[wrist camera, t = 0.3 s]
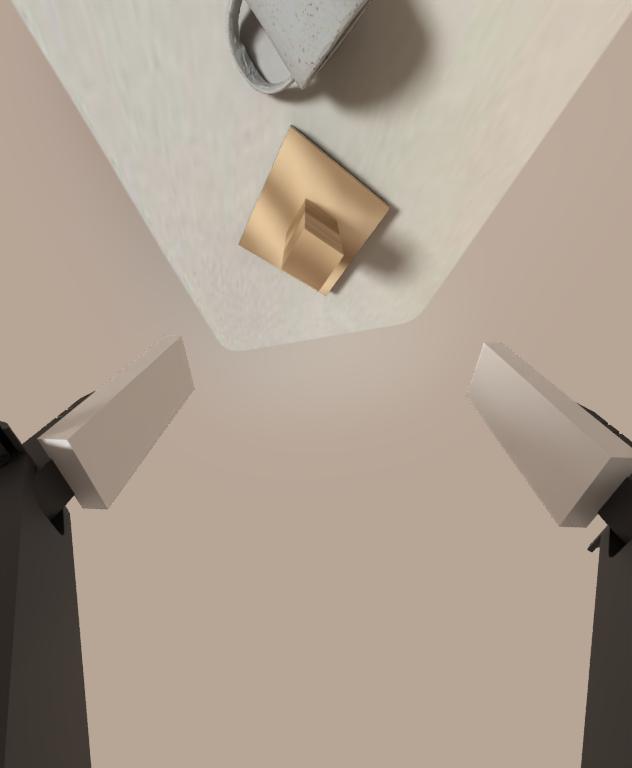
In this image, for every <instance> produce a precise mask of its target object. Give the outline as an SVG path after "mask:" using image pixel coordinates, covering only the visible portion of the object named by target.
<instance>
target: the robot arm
mask: <svg viewBox="0 0 632 768" xmlns="http://www.w3.org/2000/svg"><path fill="white" fill-rule="evenodd" d="M194 389H195V388H194V384H193V380H192V377H191V372H190V368H189V364H188V361H187V356H186V352H185V348H184V344H183V340H182V337H181V336H163V337H162V338H161V339H159V340H158V341H157V342H156V343H154V344H153V345H152V346H151V347H150V348H148V349H147V350H146V351H145V352H143V353H142V354H141V355H140V356H138V357H137V358H136V359H135V360H134V361H132V362H131V363H130V364H129V365H127V366H126V367H125V368H124V369H123V370H121V371H120V372H119V373H118V374H116V375H115V376H114V377H113V378H111V379H110V380H109V381H108V382H106V383H105V384H104V385H103V386H102V387H100V388H99V389H98V390H97V391H94V392H92V393H90V394H88V395H86V396H84V397H82V398H80V399H79V400H78V401H76V402H75V403H74V404H73V405H71V406H70V407H69V408H68V410H65V411H64V412H62V413H61V414H60V415H59V416H58V418H55V419H54V420H52V421H51V422H50V423H48V424H47V425H46V426H45V427H43V428H42V429H41V430H40V431H38V432H37V433H36V434H35V435H33V436H32V437H31V438H29V439H28V440H27V441H26V442H24V443H23V444H21V442H20V441H19V439H18V438H17V437H16V435H15V434H14V433H13V431H12V430H11V428H10V427H9V425H8V424H7V423H5V422H1V421H0V768H91V760H90V748H89V736H88V724H87V713H86V700H85V689H84V676H83V664H82V653H81V640H80V628H79V616H78V604H77V593H76V580H75V569H74V558H73V546H72V533H71V521H70V513H69V511H68V509H67V508H66V506H65V505H66V504H67V503H68V502H69V501H70V499H71V498H72V497H73V496H75V497H76V499H77V500H78V502H79V503H80V505H81V506H82V508H89V509H108V508H109V507H110V506H111V504H112V503H113V501H114V500H115V499H116V497H117V496H118V495H119V493H120V492H121V490H122V489H123V488H124V486H125V485H126V483H127V482H128V480H129V479H130V478H131V476H132V475H133V474H134V472H135V471H136V469H137V468H138V466H139V465H140V464H141V463H142V461H143V460H144V458H145V457H146V456H147V454H148V453H149V451H150V450H151V449H152V447H153V446H154V444H155V443H156V442H157V440H158V439H159V437H160V436H161V435H162V433H163V432H164V430H165V429H166V427H167V426H168V425H169V424H170V422H171V420H172V419H173V418H174V416H175V415H176V414H177V412H178V411H179V409H180V408H181V407H182V405H183V404H184V403H185V401H186V400H187V398H188V397H189V396H190V394H191V393H192V391H193V390H194ZM467 398H468V399H469V401H470V402H471V403H472V405H473V406H474V408H475V409H476V410H477V412H478V413H479V414H480V416H481V417H482V419H483V420H484V422H485V423H486V424H487V426H488V427H489V429H490V430H491V431H492V433H493V434H494V436H495V437H496V439H497V440H498V441H499V443H500V444H501V446H502V447H503V448H504V450H505V451H506V453H507V454H508V455H509V457H510V458H511V460H512V461H513V462H514V464H515V465H516V467H517V468H518V469H519V471H520V472H521V474H522V475H523V477H524V478H525V479H526V481H527V482H528V484H529V485H530V486H531V488H532V489H533V491H534V492H535V493H536V495H537V496H538V498H539V499H540V501H541V502H542V503H543V505H544V506H545V507H546V509H547V510H548V512H549V513H550V515H551V516H552V517H553V519H554V520H555V522H556V523H557V524H558V526H559V527H585V528H586V527H587V526H588V525H589V524H590V522H591V521H592V520H593V519H594V518H595V517H596V515H597V514H599V515H600V516H601V518H602V519H603V520H604V521H605V522H606V523H607V526H606V528H605V529H604V530H603V531H602V532H601V533H600V534H599V535H598V537H597V538H596V539H595V540H594V541H593V542H592V543H591V544H590V546H589V548H588V550H589V551H590V552H593V551H594V550H595V549H596V548H598V547H600V553H599V564H598V576H597V588H596V599H595V611H594V623H593V635H592V646H591V658H590V669H589V682H588V693H587V705H586V716H585V727H584V739H583V751H582V763H581V768H632V442H631V441H630V440H629V439H628V438H626V437H625V436H624V435H623V434H619V431H618V430H616V429H615V428H614V427H612V426H611V425H608V423H607V422H606V421H605V420H604V419H602V418H601V417H600V416H599V415H597V414H596V413H595V412H593V411H591V410H589V409H587V408H586V407H584V406H582V405H580V404H578V403H576V402H575V401H573V400H572V399H571V398H569V397H568V396H567V395H566V394H565V393H563V392H562V391H561V390H560V389H558V388H557V387H556V386H555V385H554V384H552V383H551V382H550V381H549V380H547V379H546V378H545V377H544V376H542V375H541V374H540V373H539V372H538V371H536V370H535V369H534V368H533V367H531V366H530V365H529V364H528V363H526V362H525V361H524V360H523V359H522V358H520V357H519V356H518V355H517V354H515V353H514V352H513V351H512V350H510V349H509V348H508V347H507V346H505V345H504V344H503V343H484V345H483V347H482V350H481V354H480V356H479V360H478V362H477V365H476V368H475V371H474V374H473V377H472V380H471V383H470V386H469V389H468V392H467Z"/></svg>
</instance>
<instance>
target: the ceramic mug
mask: <svg viewBox="0 0 632 768" xmlns="http://www.w3.org/2000/svg"><path fill="white" fill-rule="evenodd" d="M246 2H247V4H248V5H249V7H250V8H251V10H252V11H253V13H254V14H255V16H256V17H257V19H258V20H259V22H260V24H261V25H262V27H263V28H264V30H265V31H266V33H267V35H268V37H269V38H270V40H271V42H272V43H273V45H274V47H275V48H276V50H277V52H278V53H279V55H280V57H281V58H282V60H283V61H284V63H285V65H286V66H287V68H288V70H289V71H290V73H291V76H290V77H289V78H288V79H286V80H285V81H283V82H280V83H277V84H271V83H268V82H266V81H265V79H263V78H262V77H261V76H260V74H259V73H258V71H257V70H256V68H255V66H254V65H253V63H252V61H251V60H250V58H249V56H248V54H247V51H246V48H245V46H244V45H243V44H242V43H241V41H240V37H239V27H238V18H239V13H240V6H241V3H242V0H230V2H229V6H228V9H227V20H226V29H227V36H228V42H229V46H230V50H231V53H232V56H233V58H234V61H235V63H236V65H237V67H238V69H239V71H240V72H241V74H242V75H243V77H244V78H245V79H246V81H247V82H248V83H249V84H250V85H251V86H252V87H253V88H254V89H255V90H257V91H258V92H261V93H264V94H276V93H279V92H281V91H283V90H285V89H286V88H288V87H289V86H290V85H291V84H292V83H293V82H294V81H296V83H297V84H298V86H299V87H300V89H302V90H304V89H305V88H306V87H307V86H308V84H309V83H310V82H311V81H312V80H313V79H314V78H315V76H316V75H317V74H318V72H319V71H320V70H321V69H322V68H323V66H324V65H325V64H326V62H327V61H328V59H329V58H330V57H331V56H332V55H333V53H334V52H335V51H336V50H337V48H338V47H339V45H340V44H341V43H342V41H343V40H344V39H345V37H346V36H347V35H348V34H349V32H350V31H351V29H352V28H353V27H354V25H355V24H356V23H357V21H358V20H359V18H360V17H361V16H362V14H363V13H364V12H365V10H366V9H367V7H368V6H369V5H370V3H371V2H372V0H246Z"/></svg>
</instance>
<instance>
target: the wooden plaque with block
mask: <svg viewBox="0 0 632 768" xmlns="http://www.w3.org/2000/svg"><path fill="white" fill-rule="evenodd" d="M389 209H390V208H389V206H388V205H387V204H386V203H385V202H383V201H382V200H381V199H380V198H378V197H377V196H376V195H375V194H374V193H372V192H371V191H370V190H369V189H368V188H366V187H365V186H364V185H363V184H361V183H360V182H359V181H358V180H357V179H355V178H354V177H353V176H352V175H351V174H349V173H348V172H347V171H346V170H345V169H343V168H342V167H341V166H340V165H338V164H337V163H336V162H335V161H334V160H332V159H331V158H330V157H329V156H328V155H326V154H325V153H324V152H323V151H321V150H320V149H319V148H318V147H317V146H315V145H314V144H313V143H312V142H311V141H309V140H308V139H307V138H306V137H305V136H303V135H302V134H301V133H300V132H298V131H297V130H296V129H295V128H294V127H292V126H290V128H289V131H288V133H287V135H286V137H285V140H284V142H283V144H282V146H281V149H280V151H279V153H278V155H277V158H276V160H275V162H274V165H273V167H272V169H271V171H270V174H269V176H268V178H267V180H266V183H265V185H264V187H263V190H262V192H261V194H260V196H259V199H258V201H257V203H256V205H255V208H254V210H253V212H252V215H251V217H250V219H249V221H248V224H247V226H246V228H245V230H244V233H243V235H242V237H241V239H240V242H239V244H238V245H240V246H242V247H243V248H245V249H247V250H248V251H250V252H252V253H253V254H255V255H257V256H259V257H260V258H262V259H264V260H265V261H267V262H269V263H270V264H272V265H274V266H276V267H277V268H279V269H281V270H282V271H284V272H286V273H287V274H289V275H291V276H292V277H294V278H296V279H298V280H299V281H301V282H303V283H304V284H306V285H308V286H309V287H311V288H313V289H315V290H316V291H318V292H320V293H321V294H323V295H325V296H326V295H327V294H328V292H329V291H330V290H331V288H332V287H333V286H334V284H335V283H336V281H337V280H338V279H339V277H340V276H341V275H342V273H343V272H344V270H345V269H346V268H347V266H348V265H349V264H350V262H351V261H352V260H353V258H354V257H355V255H356V254H357V253H358V251H359V250H360V249H361V247H362V246H363V244H364V243H365V242H366V240H367V239H368V238H369V236H370V235H371V234H372V232H373V231H374V229H375V228H376V227H377V225H378V224H379V223H380V221H381V220H382V218H383V217H384V216H385V214H386V213H387V212H388V210H389Z"/></svg>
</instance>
